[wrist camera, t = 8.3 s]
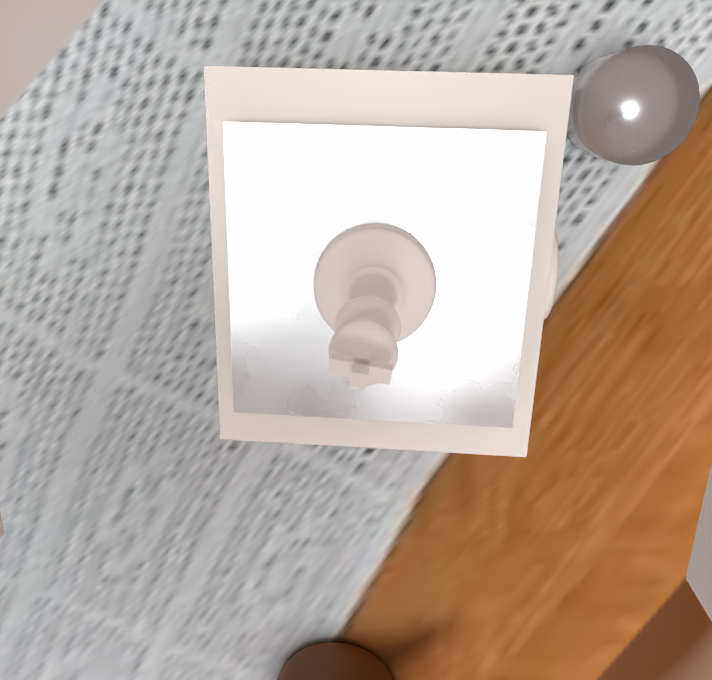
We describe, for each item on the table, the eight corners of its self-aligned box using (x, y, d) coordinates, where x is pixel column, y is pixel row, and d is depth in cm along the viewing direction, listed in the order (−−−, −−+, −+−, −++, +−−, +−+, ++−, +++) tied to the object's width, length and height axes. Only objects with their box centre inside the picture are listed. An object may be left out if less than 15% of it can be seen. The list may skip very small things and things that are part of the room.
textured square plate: (238, 404, 30) (233, 412, 29) (228, 121, 26) (223, 121, 25) (509, 419, 29) (512, 427, 28) (542, 130, 25) (546, 131, 24)
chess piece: (324, 212, 26) (278, 270, 16) (449, 236, 26) (475, 309, 16) (304, 330, 27) (252, 445, 18) (422, 353, 27) (431, 481, 18)
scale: (244, 395, 35) (217, 443, 30) (235, 73, 30) (200, 65, 25) (520, 410, 35) (539, 462, 29) (559, 81, 29) (591, 75, 24)
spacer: (563, 164, 31) (582, 171, 27) (559, 61, 29) (580, 54, 25) (663, 151, 30) (698, 157, 26) (664, 46, 29) (701, 36, 25)
